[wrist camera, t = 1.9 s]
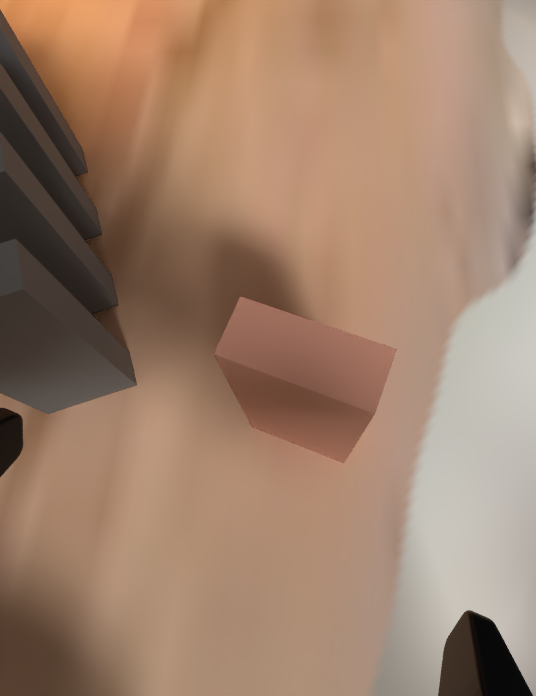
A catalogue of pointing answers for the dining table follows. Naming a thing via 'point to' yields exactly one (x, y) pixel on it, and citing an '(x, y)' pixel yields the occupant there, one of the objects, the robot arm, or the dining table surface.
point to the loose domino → (302, 377)
